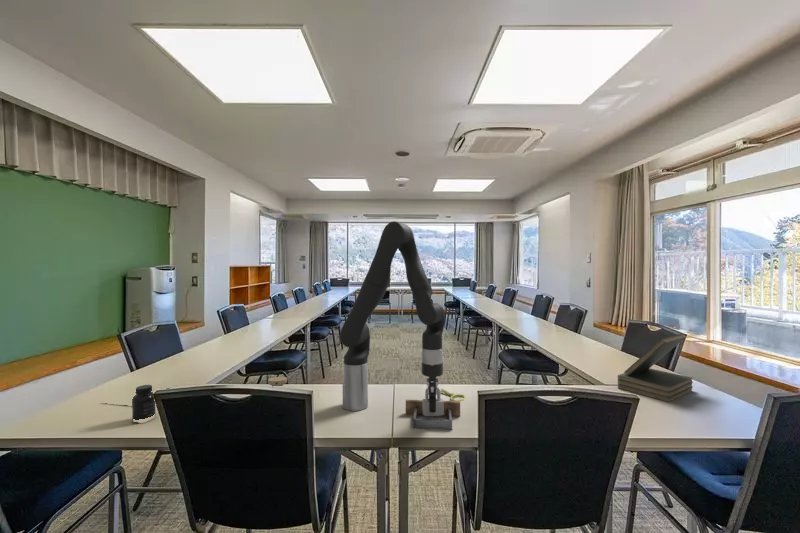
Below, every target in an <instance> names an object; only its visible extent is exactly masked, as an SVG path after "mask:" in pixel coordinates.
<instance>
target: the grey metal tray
mask: <svg viewBox="0 0 800 533" xmlns="http://www.w3.org/2000/svg"><path fill="white" fill-rule="evenodd" d="M452 417H453V416H451V408H448V415H447V414H444V415H440V416H424V415H423V414H417V407H415V411H414V415H413V417H412V418H413V420H412V425H413V426H412V427H413V430H414V429H417V430H418V429H419V430H420V429H421V430H422V429H423V430H442V431H443V430H445V431H446V430H447V431H452V430H453V418H452Z"/></svg>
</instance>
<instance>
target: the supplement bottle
mask: <svg viewBox="0 0 800 533" xmlns="http://www.w3.org/2000/svg"><path fill="white" fill-rule="evenodd" d="M152 388H153V385H152V384H144V385H139V386H136V387H135V389H136V392H135V393H136V395H135V396H134V397H133V399H132V408H131V410H132V412H131V413H132V418H133V419H135V420H139V419H145V418H148V417H151V416H153V415H154V414H155V415H156V405H155V401H154V397H153V392H151V391H152ZM133 419H132V420H133Z"/></svg>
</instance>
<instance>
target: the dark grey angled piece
mask: <svg viewBox="0 0 800 533" xmlns="http://www.w3.org/2000/svg"><path fill="white" fill-rule="evenodd" d="M686 338H687V336H686V335H685V334H684V333H679V334H675V335H671V336H667V337H663V338H661V339H660V340H658V342H657V343H655V344H654V345H653V346H652V347H651V348H650V349H648V350H647V351H646V352H645V353H644V354H643V355H642V356H640V358H638V359H637V360H636V361H634V362H633V364H631V365H630V366H629V367H628V368H627V369H626V370H624V371H623V373H621V374H618V375H617V389H619V390H623V391H627V392H631V393H634V394H638V395H642V396H645V397H649V398H652V399H656V400H660V401H664V402H666V403H671V402H672V401H674V400H677V399H678V398H681V397H683V396H685V395H687V394H690V393H691V392H693V391H692V390H693V388H694V387H693V385H692V384H693V377H692V376H691V377H690V376H687V375H682V374H677V373H674V372H669V371H664V370H660V369H654V368H652V367H653V366H654V365H655V364H656V363H657V362H659V361H660V360H661V359H662V358H664V357H665V356H666V355H667V354H669V353H670V352H671V351H672V350H673V349H674V348H675V347H677V345H679V344H680V343H681V342H682V341H684V340H685V339H686Z"/></svg>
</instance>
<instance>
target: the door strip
mask: <svg viewBox="0 0 800 533" xmlns="http://www.w3.org/2000/svg"><path fill="white" fill-rule="evenodd" d="M422 400H423V399H405V415H413V416H414V411H415V407H417V414H423V413H422ZM443 402H444V403H443V404H444V405H443V406H444V408H443V409H444V414H447V415H448V408H451V416H452V417H461V401H451V400H443Z"/></svg>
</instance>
